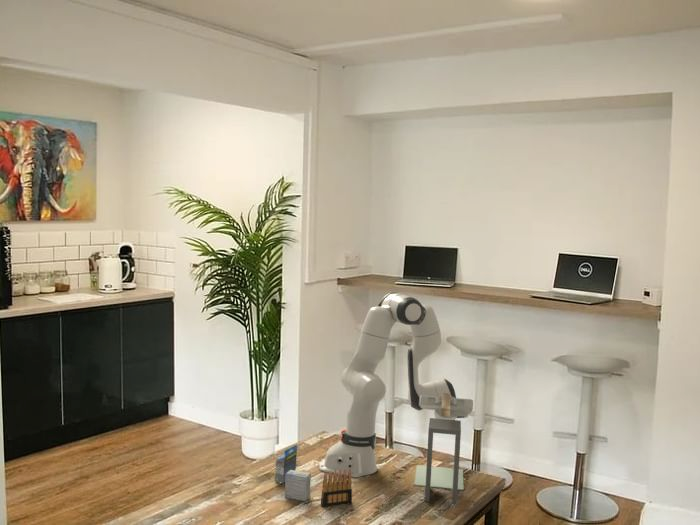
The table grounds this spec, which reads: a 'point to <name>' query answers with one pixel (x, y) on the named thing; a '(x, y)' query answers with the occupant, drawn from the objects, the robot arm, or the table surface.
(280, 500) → the table surface
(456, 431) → the stand
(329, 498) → the ammunition clip
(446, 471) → the mat
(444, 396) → the beech bar
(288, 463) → the label tape box
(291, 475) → the medicine box
